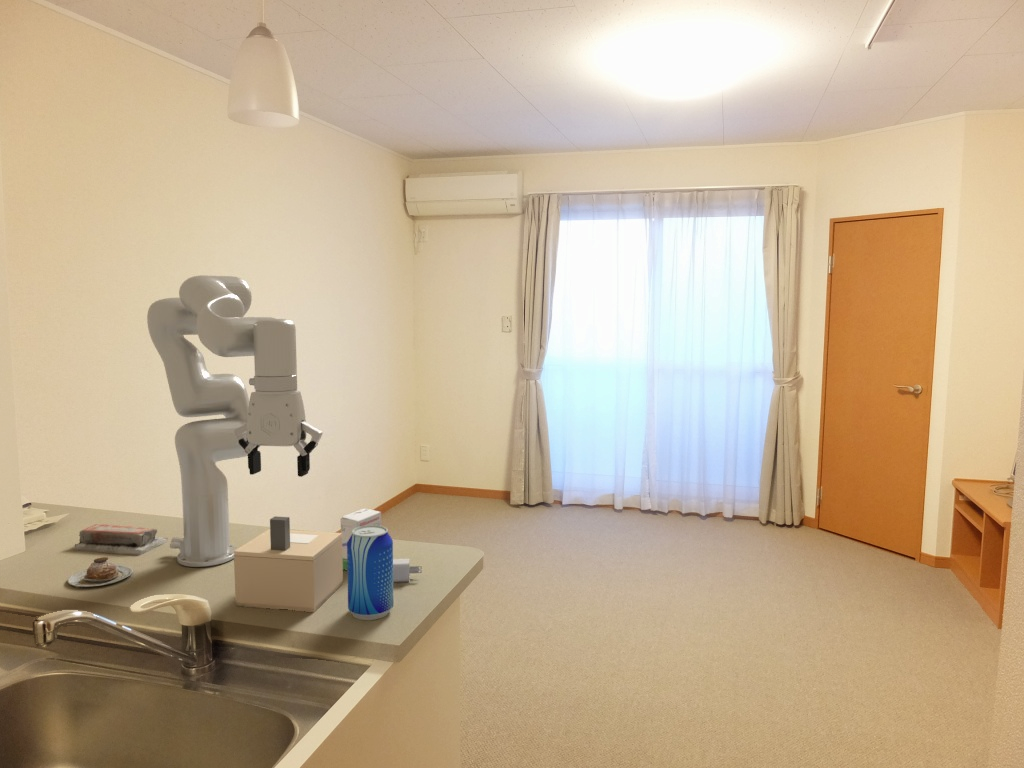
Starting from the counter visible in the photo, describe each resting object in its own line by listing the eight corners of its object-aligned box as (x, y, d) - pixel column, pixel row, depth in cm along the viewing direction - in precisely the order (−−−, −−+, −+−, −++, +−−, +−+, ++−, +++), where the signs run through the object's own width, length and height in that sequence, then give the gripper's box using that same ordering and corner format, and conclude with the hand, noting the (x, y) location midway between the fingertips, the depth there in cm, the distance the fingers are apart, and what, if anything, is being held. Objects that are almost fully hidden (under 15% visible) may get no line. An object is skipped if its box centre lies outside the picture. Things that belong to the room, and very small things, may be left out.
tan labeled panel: (233, 555, 137) (232, 520, 136) (269, 532, 150) (268, 500, 150) (313, 560, 134) (312, 525, 133) (342, 536, 148) (341, 504, 147)
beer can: (361, 600, 141) (360, 521, 139) (400, 606, 138) (400, 525, 137) (339, 618, 133) (338, 534, 131) (380, 624, 130) (379, 539, 129)
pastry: (106, 593, 144) (105, 571, 144) (53, 589, 146) (52, 567, 146) (145, 571, 156) (144, 551, 155) (96, 568, 158) (95, 547, 157)
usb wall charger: (389, 576, 154) (389, 558, 153) (421, 575, 155) (421, 557, 154) (388, 583, 150) (388, 564, 149) (421, 582, 151) (421, 563, 150)
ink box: (358, 573, 155) (357, 520, 154) (340, 569, 157) (339, 517, 156) (382, 561, 162) (382, 510, 161) (365, 557, 165) (364, 507, 163)
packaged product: (70, 531, 167) (102, 519, 177) (72, 551, 168) (103, 538, 178) (140, 536, 164) (168, 523, 174) (141, 557, 165) (168, 542, 175)
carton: (235, 606, 138) (233, 555, 137) (270, 578, 151) (269, 532, 150) (314, 612, 135) (313, 561, 134) (342, 583, 149) (342, 537, 148)
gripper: (222, 386, 132) (226, 476, 134) (311, 388, 130) (313, 480, 131) (243, 381, 140) (247, 468, 141) (328, 383, 137) (330, 471, 139)
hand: (279, 474), depth 136 cm, fingers open, 9 cm apart
